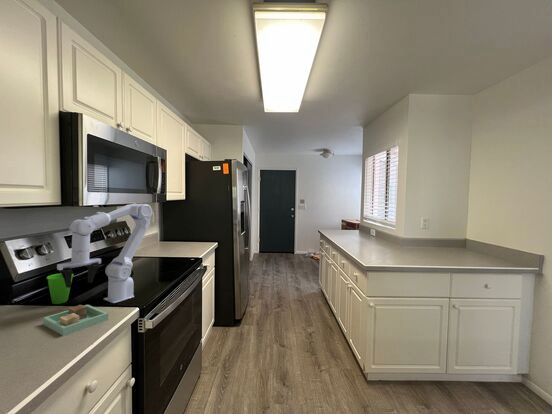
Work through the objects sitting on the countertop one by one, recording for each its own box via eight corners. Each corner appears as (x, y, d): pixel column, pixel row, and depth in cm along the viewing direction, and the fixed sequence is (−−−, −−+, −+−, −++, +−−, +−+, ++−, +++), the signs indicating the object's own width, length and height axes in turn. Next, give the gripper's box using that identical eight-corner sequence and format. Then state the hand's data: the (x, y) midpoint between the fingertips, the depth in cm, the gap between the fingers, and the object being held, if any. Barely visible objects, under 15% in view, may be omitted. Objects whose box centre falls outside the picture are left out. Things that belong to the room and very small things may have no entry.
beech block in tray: (73, 324, 93) (73, 313, 93) (79, 327, 91) (79, 315, 91) (59, 328, 90) (59, 317, 90) (65, 332, 88) (65, 320, 88)
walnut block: (80, 315, 100) (81, 304, 100) (86, 317, 98) (86, 307, 98) (68, 319, 97) (68, 308, 97) (74, 321, 95) (74, 310, 95)
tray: (87, 312, 105) (87, 304, 104) (108, 321, 98) (108, 313, 98) (43, 326, 92) (43, 317, 92) (63, 337, 86) (63, 328, 85)
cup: (41, 302, 111) (42, 276, 111) (66, 296, 119) (67, 271, 119) (52, 307, 107) (52, 280, 107) (77, 300, 115) (78, 275, 115)
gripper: (95, 246, 113) (93, 278, 113) (53, 251, 100) (52, 287, 101) (104, 248, 110) (103, 281, 110) (62, 254, 97) (61, 291, 97)
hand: (79, 284), depth 105 cm, fingers open, 7 cm apart
